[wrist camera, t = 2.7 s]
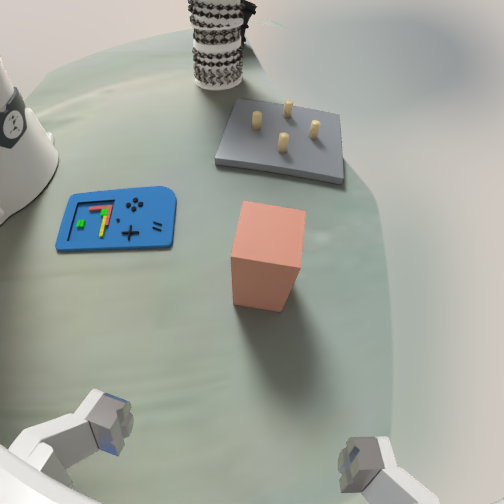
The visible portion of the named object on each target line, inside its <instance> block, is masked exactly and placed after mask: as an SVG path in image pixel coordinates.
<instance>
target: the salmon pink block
mask: <svg viewBox="0 0 504 504" xmlns="http://www.w3.org/2000/svg"><path fill="white" fill-rule="evenodd" d="M305 215H306V211H303V210H297V209H291V208H285V207H279V206H273V205H267V204H260V203H254V202H247V201H243V204H242V208H241V213H240V217H239V221H238V226H237V230H236V235H235V239H234V244H233V248H232V253H231V272H232V291H233V304H234V305H240V306H245V307H251V308H257V309H264V310H270V311H276V312H281V311H282V309H283V307H284V305H285V302H286V300H287V298H288V296H289V294H290V291H291V289H292V287H293V285H294V282H295V280H296V278H297V275H298V273H299V271H300V268H301V260H302V250H303V239H304V227H305Z"/></svg>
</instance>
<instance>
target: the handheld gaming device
mask: <svg viewBox="0 0 504 504" xmlns="http://www.w3.org/2000/svg"><path fill="white" fill-rule="evenodd" d="M175 212H176V197H175V194H174V192H173V191H172V190H170V189H169V188H167V187H163V186H154V187H141V188H129V189H118V190H107V191H97V192H88V193H80V194H73V195H72V196H71V197H70V198H69V201H68V204H67V207H66V210H65V213H64V216H63V219H62V223H61V226H60V230H59V233H58V237H57V241H56V245H55V247H56V249H57V250H58V251H60V252H63V251H89V250H116V249H145V248H168V247H170V246H171V245H172V243H173V233H174V222H175Z"/></svg>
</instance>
